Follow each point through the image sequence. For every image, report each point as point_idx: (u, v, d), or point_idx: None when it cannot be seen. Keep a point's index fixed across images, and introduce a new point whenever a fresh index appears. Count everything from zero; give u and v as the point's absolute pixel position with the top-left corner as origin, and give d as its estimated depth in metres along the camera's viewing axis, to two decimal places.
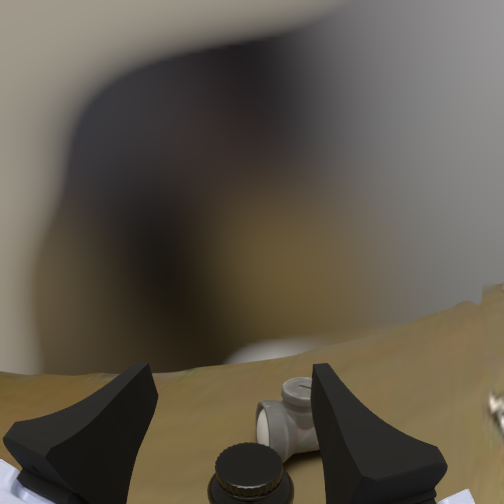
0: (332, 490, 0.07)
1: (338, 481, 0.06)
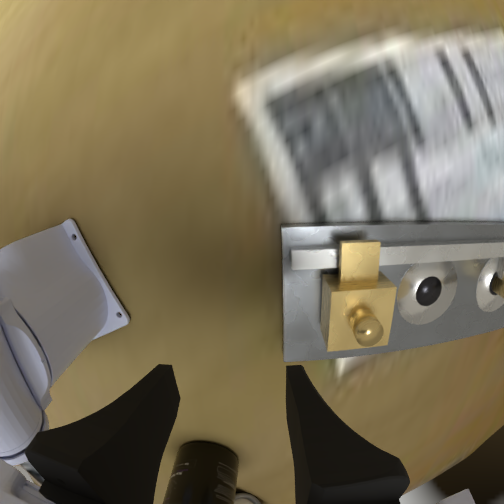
0: (298, 494, 0.07)
1: (300, 485, 0.06)
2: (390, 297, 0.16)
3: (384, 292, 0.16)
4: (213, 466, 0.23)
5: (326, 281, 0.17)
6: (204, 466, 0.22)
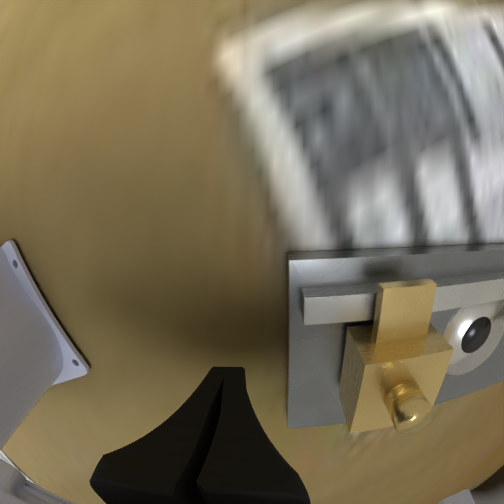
0: None
1: None
2: (443, 362, 0.09)
3: (437, 357, 0.09)
4: None
5: (354, 341, 0.11)
6: None
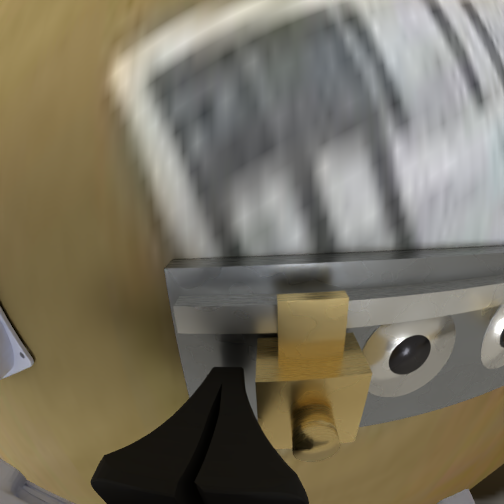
0: None
1: None
2: (360, 387, 0.09)
3: (349, 381, 0.09)
4: None
5: (257, 355, 0.11)
6: None
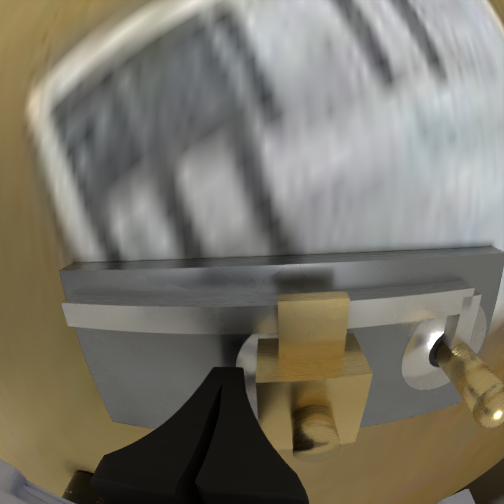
0: None
1: None
2: (361, 388, 0.09)
3: (350, 382, 0.09)
4: (92, 500, 0.16)
5: (257, 355, 0.11)
6: (83, 498, 0.16)
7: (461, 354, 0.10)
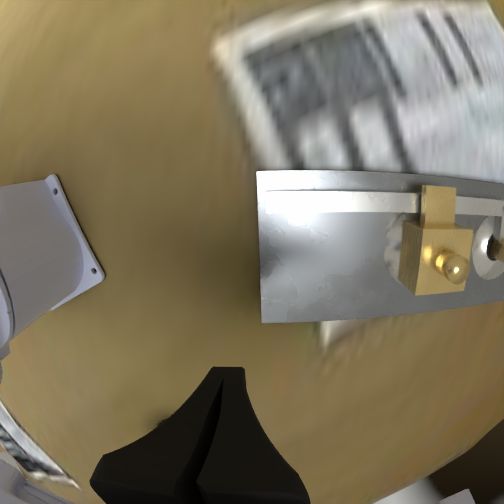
0: None
1: None
2: (468, 239, 0.14)
3: (464, 234, 0.14)
4: None
5: (411, 224, 0.16)
6: None
7: None
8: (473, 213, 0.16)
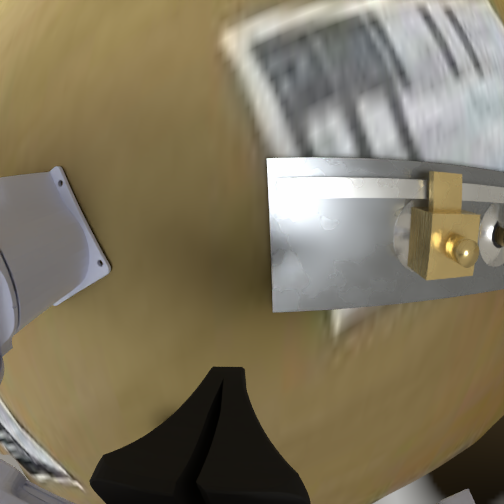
0: None
1: None
2: (475, 224, 0.14)
3: (471, 218, 0.14)
4: None
5: (419, 209, 0.16)
6: None
7: None
8: (479, 200, 0.16)
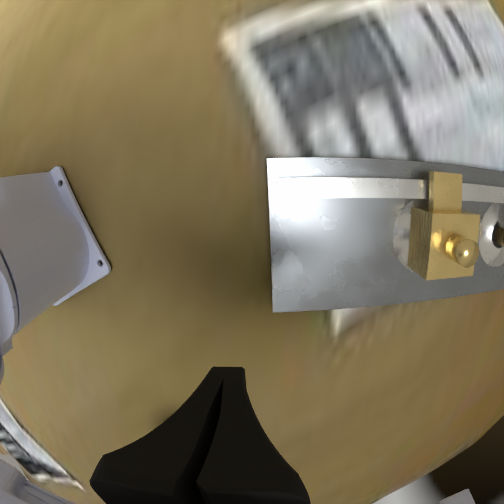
0: None
1: None
2: (475, 224, 0.14)
3: (471, 218, 0.14)
4: None
5: (419, 209, 0.16)
6: None
7: None
8: (479, 200, 0.16)
